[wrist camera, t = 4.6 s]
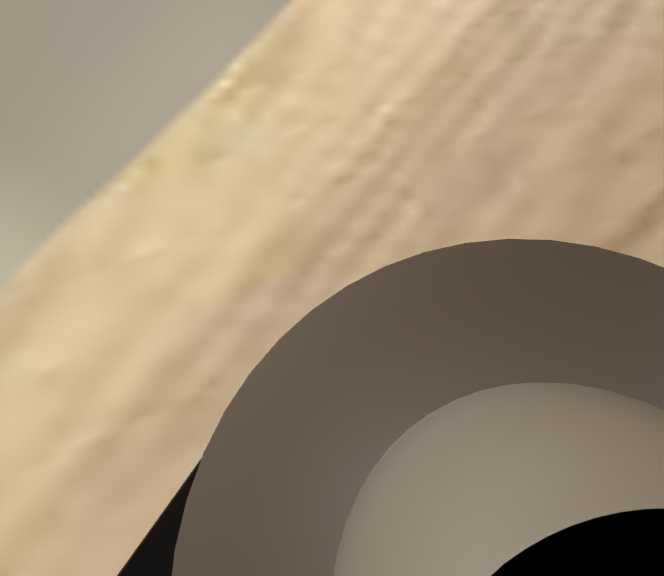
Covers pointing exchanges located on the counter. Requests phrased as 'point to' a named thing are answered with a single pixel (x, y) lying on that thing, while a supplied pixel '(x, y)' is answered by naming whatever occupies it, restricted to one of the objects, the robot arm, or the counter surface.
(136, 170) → the counter surface
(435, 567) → the pepper mill
